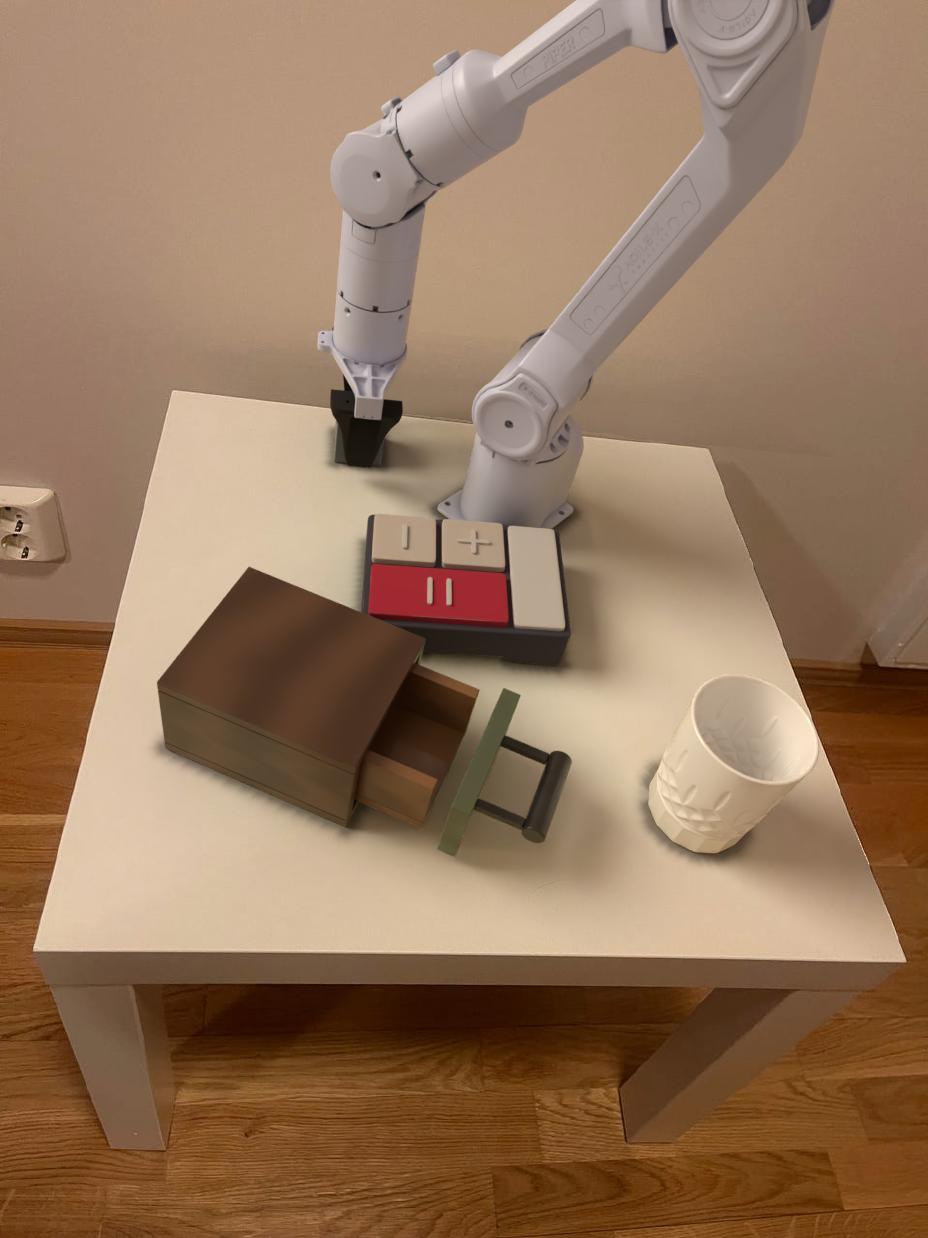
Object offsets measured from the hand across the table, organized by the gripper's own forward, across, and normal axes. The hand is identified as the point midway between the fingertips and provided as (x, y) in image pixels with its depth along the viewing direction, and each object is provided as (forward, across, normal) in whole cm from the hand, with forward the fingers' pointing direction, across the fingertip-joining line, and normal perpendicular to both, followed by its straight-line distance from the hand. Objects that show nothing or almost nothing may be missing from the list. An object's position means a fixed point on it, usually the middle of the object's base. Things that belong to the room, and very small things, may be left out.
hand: (358, 435), depth 78 cm
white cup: (+2, +35, +23) cm, 41 cm away
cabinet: (+2, +29, -4) cm, 29 cm away
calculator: (+2, +17, +8) cm, 19 cm away
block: (+2, 0, 0) cm, 2 cm away
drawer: (+1, +33, +5) cm, 33 cm away
